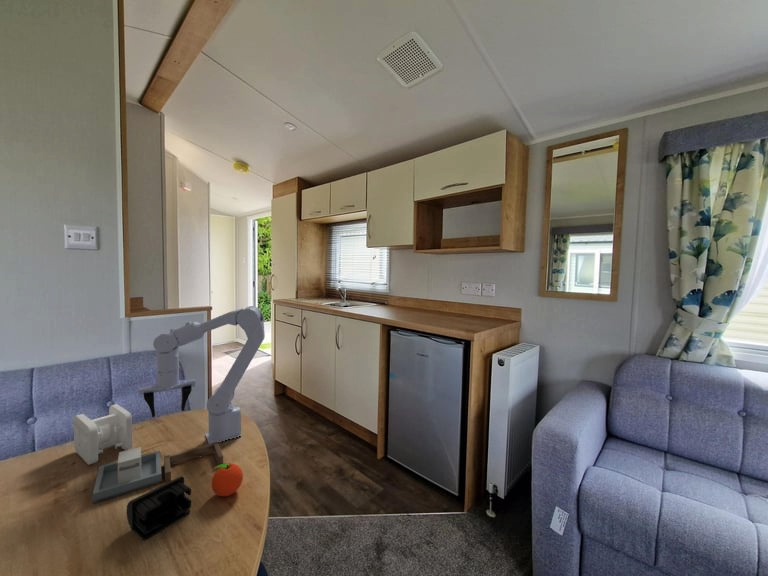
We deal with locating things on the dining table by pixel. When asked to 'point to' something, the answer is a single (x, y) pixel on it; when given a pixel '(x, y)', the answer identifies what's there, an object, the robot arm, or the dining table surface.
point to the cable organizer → (102, 433)
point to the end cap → (159, 508)
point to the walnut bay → (191, 457)
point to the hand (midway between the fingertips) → (168, 412)
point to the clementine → (227, 479)
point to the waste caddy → (129, 465)
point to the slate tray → (109, 484)
